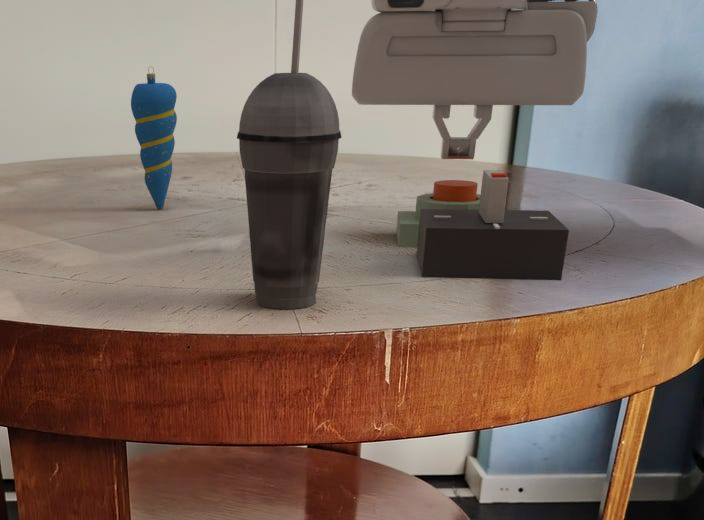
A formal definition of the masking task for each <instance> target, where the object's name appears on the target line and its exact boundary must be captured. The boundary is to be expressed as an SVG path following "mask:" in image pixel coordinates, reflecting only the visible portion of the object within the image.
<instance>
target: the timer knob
mask: <svg viewBox="0 0 704 520" xmlns="http://www.w3.org/2000/svg"><path fill="white" fill-rule="evenodd" d="M482 171H483V172H482V179H481V188H480V195H481V196H480V204H479V214H480V215H481V217H482V219H483V220H484V222H485V223H503V219H504V211H505V210H506V201H507V195H508V187H509V180H510V179H509V177H508V174H507V173H505V172H503V171H502V170H501V169H483V170H482Z"/></svg>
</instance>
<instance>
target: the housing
mask: <svg viewBox="0 0 704 520" xmlns="http://www.w3.org/2000/svg"><path fill="white" fill-rule="evenodd" d="M480 196H481V194H480V193H479V194H478V193H477V195H476V201H470V202H446V201H437V200H433V192H432V193H423V194H420V195H417V196H416V201H415V210H398V211H397V217H396V219H397V220H396V240H397V246H398V248H417V242H418V231H419V219H420V209H455V210H479V204H480Z"/></svg>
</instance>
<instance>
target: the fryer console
mask: <svg viewBox="0 0 704 520" xmlns="http://www.w3.org/2000/svg"><path fill="white" fill-rule="evenodd" d="M569 234H570V229H569V228H568V227H566V225H565V224H563V223H562V222H561V221H560V220H559V219H558V218H557V217H556V216H555V215H554V214H553V213H552V212H551V211H549V210H531V209H529V210H528V209H527V210H525V209H524V210H523V209H505V211H504V219H503V223H485V222H484V220H483V219H482V217H481V215H480V214H479V210H455V209H420V219H419V231H418V242H417V247H416V258H417V263H418V267H419V271H420V276H421V278H436V279H437V278H441V279H443V278H444V279H482V280H483V279H485V280H487V279H488V280H491V279H492V280H527V281H528V280H529V281H531V280H532V281H533V280H534V281H539V280H540V281H562V276H563V272H564V271H563V270H564V264H565V259H566V253H567V246H568V239H569Z"/></svg>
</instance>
